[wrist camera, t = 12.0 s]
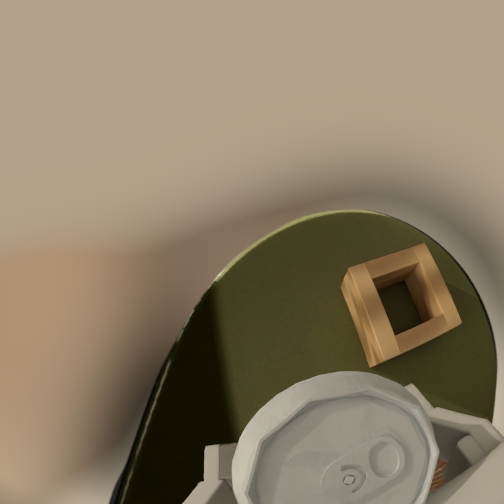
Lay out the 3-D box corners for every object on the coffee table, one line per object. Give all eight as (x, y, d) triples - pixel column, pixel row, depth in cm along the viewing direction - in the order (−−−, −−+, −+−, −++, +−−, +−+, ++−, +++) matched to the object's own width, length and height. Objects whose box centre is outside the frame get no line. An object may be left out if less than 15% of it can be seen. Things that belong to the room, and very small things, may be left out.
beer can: (251, 410, 15) (184, 423, 5) (325, 376, 16) (400, 323, 5) (283, 477, 13) (279, 592, 2) (358, 442, 13) (476, 489, 3)
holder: (441, 335, 28) (462, 323, 23) (369, 368, 27) (384, 361, 23) (409, 263, 33) (424, 242, 28) (340, 286, 32) (348, 267, 28)
